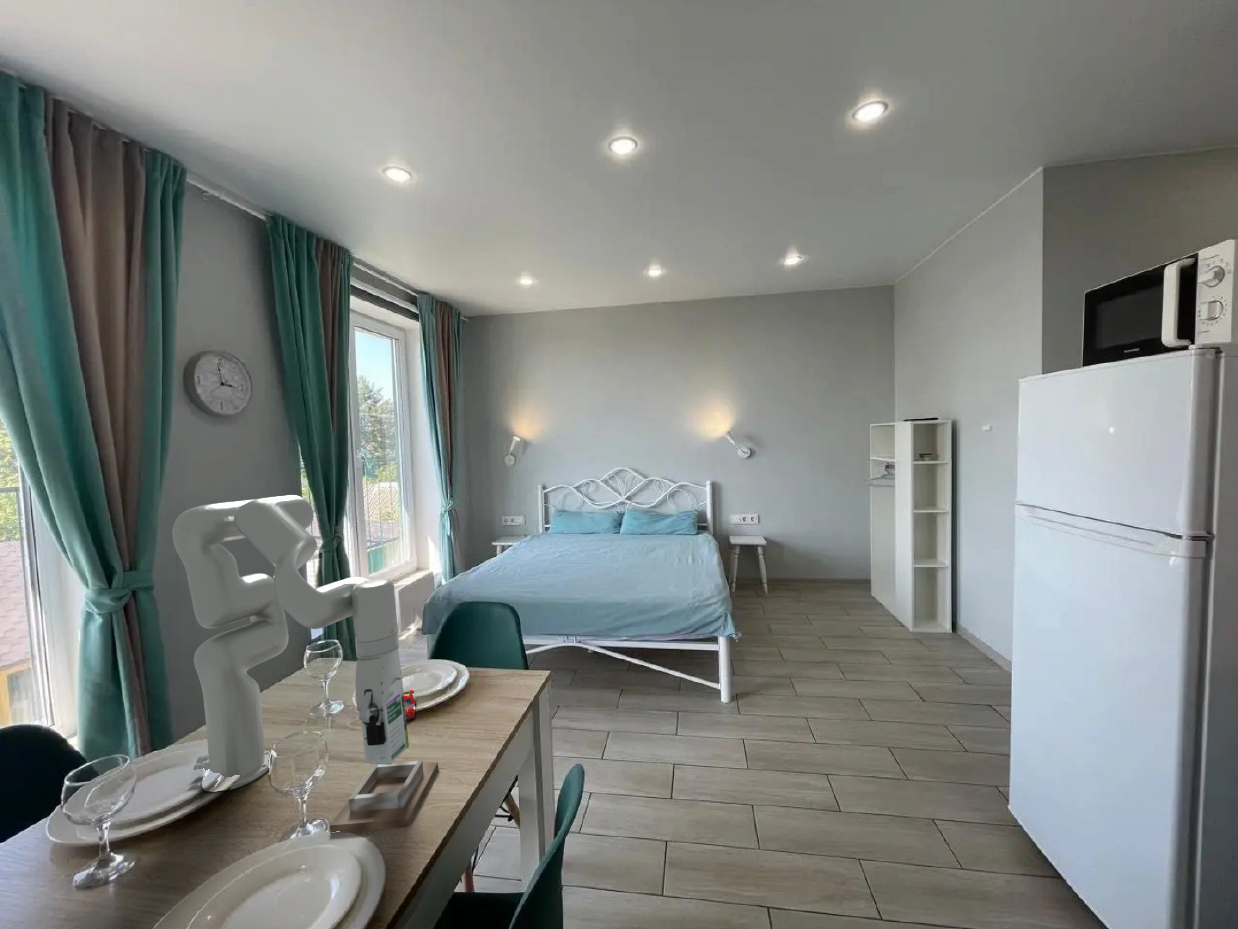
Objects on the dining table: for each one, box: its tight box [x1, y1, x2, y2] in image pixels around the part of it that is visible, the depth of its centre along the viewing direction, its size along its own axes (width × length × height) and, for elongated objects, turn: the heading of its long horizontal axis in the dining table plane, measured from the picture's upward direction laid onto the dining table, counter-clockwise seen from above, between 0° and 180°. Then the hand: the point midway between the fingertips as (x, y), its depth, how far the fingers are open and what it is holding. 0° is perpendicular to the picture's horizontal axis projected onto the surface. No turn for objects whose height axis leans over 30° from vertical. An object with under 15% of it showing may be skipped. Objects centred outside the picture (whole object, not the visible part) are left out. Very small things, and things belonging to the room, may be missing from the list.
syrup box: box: [360, 677, 410, 765], centre depth 95 cm, size 6×6×14 cm
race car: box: [403, 689, 417, 722], centre depth 129 cm, size 13×5×4 cm, turn 20°
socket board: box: [329, 760, 439, 833], centre depth 96 cm, size 14×16×4 cm
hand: (385, 732), depth 95 cm, fingers closed on syrup box, 6 cm apart
